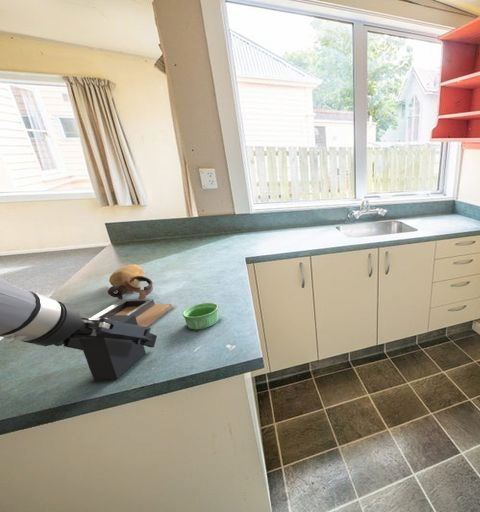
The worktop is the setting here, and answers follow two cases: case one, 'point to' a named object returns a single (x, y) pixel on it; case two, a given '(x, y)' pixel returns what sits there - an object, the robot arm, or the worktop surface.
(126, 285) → the pottery mug
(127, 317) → the dark gray block
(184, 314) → the ramekin
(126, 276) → the tan rounded piece
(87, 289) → the worktop surface
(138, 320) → the wooden base board
